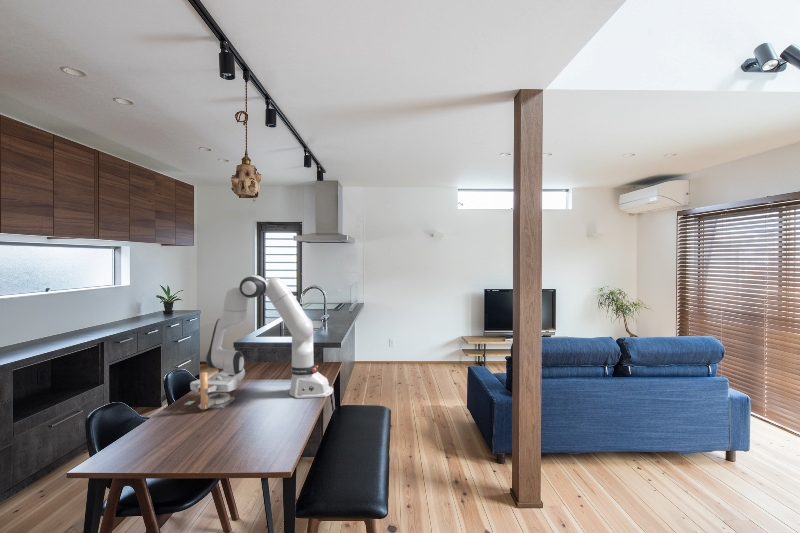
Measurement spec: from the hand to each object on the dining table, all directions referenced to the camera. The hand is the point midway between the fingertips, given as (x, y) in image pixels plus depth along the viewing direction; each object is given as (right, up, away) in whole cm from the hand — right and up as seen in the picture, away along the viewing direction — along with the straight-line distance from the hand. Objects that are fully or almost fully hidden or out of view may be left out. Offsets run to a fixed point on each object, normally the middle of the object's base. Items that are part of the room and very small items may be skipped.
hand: (201, 390), depth 175 cm
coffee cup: (-11, -10, +49) cm, 51 cm away
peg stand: (+1, -8, +8) cm, 12 cm away
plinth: (+2, -10, +11) cm, 15 cm away
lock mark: (-12, -10, +12) cm, 19 cm away
